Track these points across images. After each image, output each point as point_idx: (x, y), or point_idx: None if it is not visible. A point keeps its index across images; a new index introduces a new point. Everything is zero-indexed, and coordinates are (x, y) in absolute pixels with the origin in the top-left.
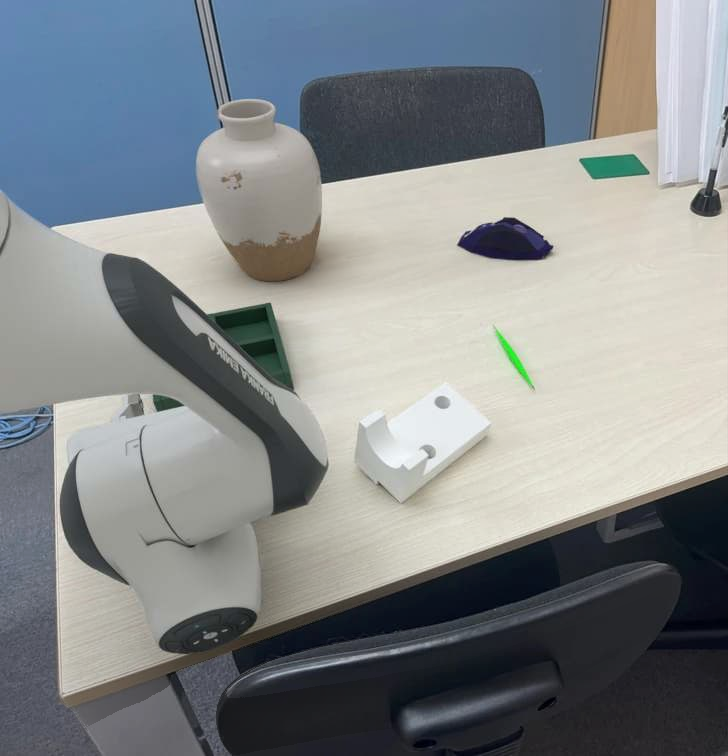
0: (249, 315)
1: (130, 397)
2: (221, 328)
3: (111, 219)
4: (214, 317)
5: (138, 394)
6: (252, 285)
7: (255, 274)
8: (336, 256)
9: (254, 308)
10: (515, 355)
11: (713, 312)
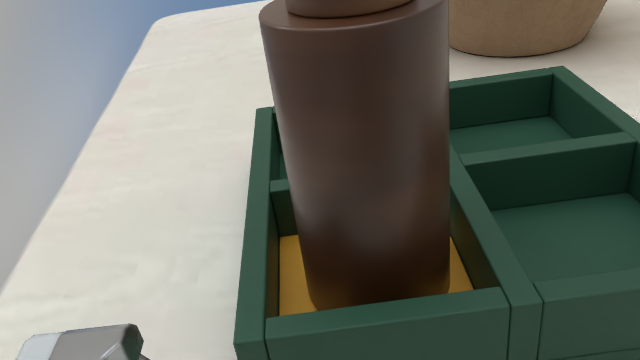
0: (507, 96)
1: (65, 355)
2: None
3: (226, 6)
4: None
5: (123, 336)
6: (471, 63)
7: (481, 38)
8: (635, 20)
9: (524, 77)
10: None
11: None
